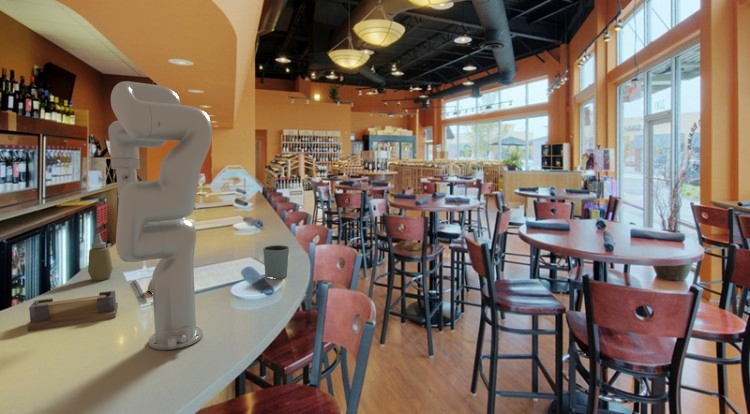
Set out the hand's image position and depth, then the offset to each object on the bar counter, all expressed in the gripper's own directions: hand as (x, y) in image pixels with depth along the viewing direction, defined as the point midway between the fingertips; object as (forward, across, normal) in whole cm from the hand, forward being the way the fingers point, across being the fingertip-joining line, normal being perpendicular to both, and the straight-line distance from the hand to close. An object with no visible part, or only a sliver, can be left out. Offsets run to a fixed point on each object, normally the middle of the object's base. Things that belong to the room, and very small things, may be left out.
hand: (129, 223), depth 125 cm
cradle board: (+27, -4, +15) cm, 31 cm away
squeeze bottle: (+27, +42, +12) cm, 51 cm away
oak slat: (+25, -4, +15) cm, 30 cm away
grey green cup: (+27, +12, -50) cm, 58 cm away
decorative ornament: (+27, +12, -6) cm, 30 cm away
